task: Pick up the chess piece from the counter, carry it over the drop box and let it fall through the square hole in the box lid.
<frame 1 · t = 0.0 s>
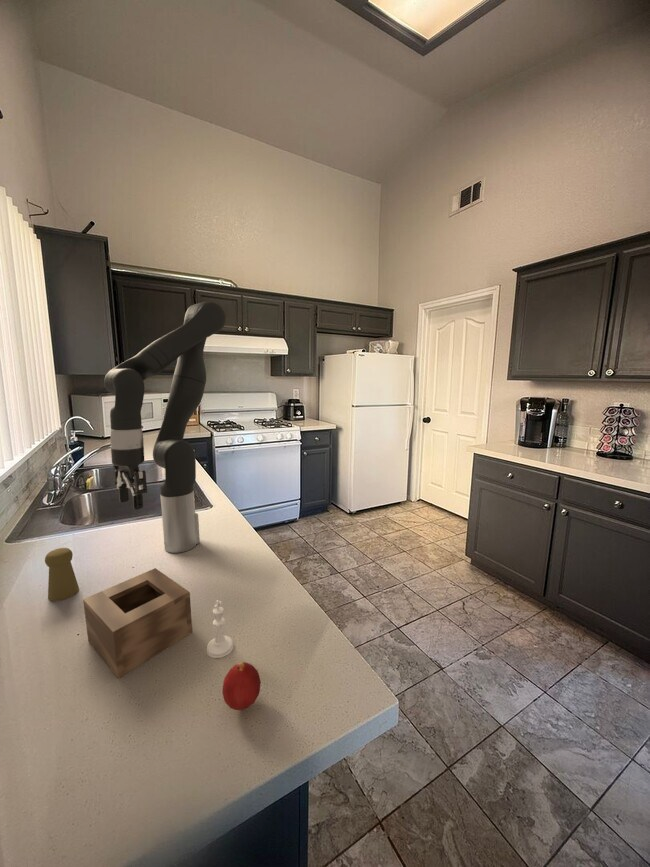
hand: (130, 505, 94), 17 cm above the countertop, tool pointing down, fingers open, 8 cm apart
cork: (63, 594, 84), on the countertop
drop box: (141, 636, 70), on the countertop
chess piece: (220, 648, 67), on the countertop
red oval fruit: (242, 707, 55), on the countertop
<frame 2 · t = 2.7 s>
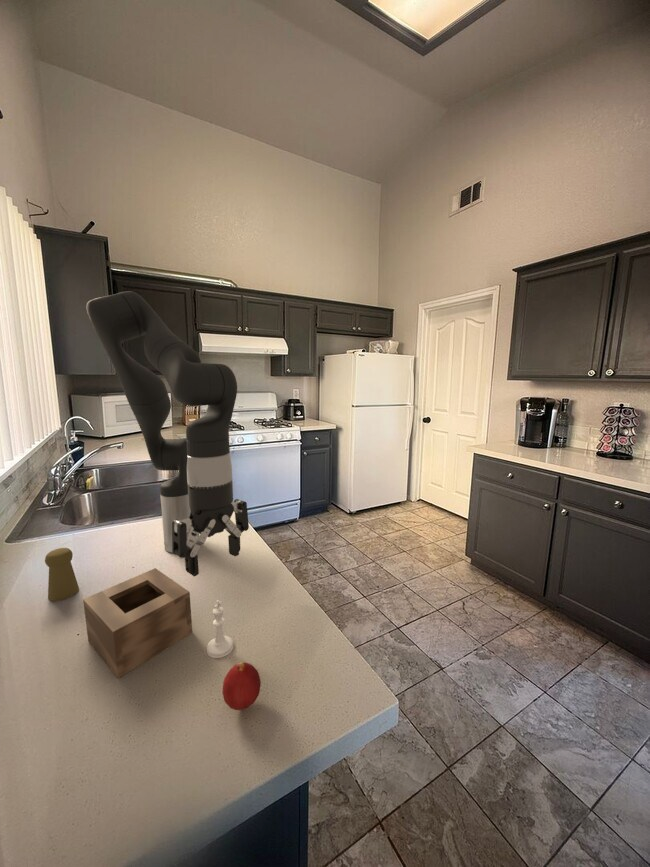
hand: (214, 564, 64), 17 cm above the countertop, tool pointing down, fingers open, 8 cm apart
nothing on the countertop moved.
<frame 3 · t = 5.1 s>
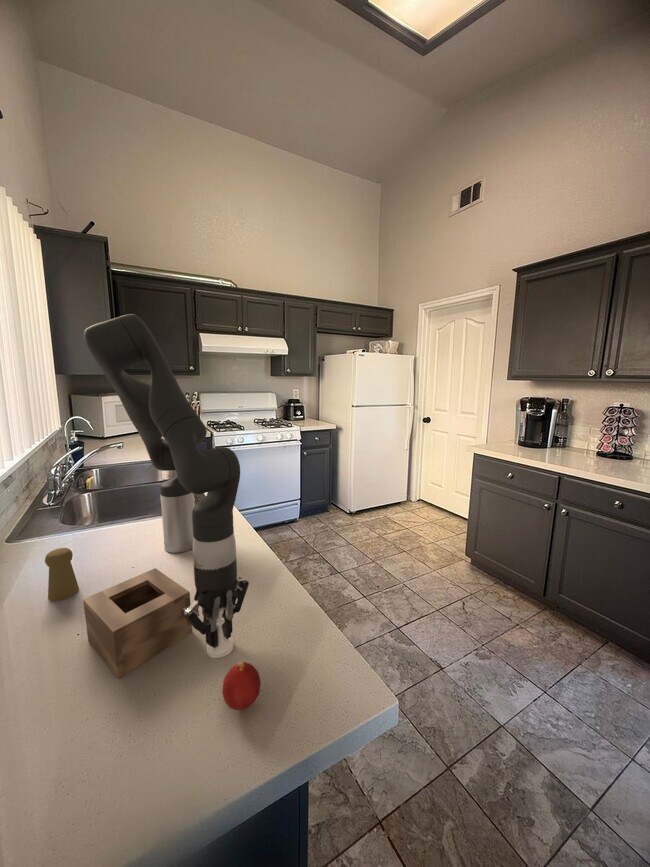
hand: (219, 640, 66), 2 cm above the countertop, tool pointing down, fingers closed on chess piece, 2 cm apart
chess piece: (220, 648, 67), on the countertop, touching gripper
everything else where it was.
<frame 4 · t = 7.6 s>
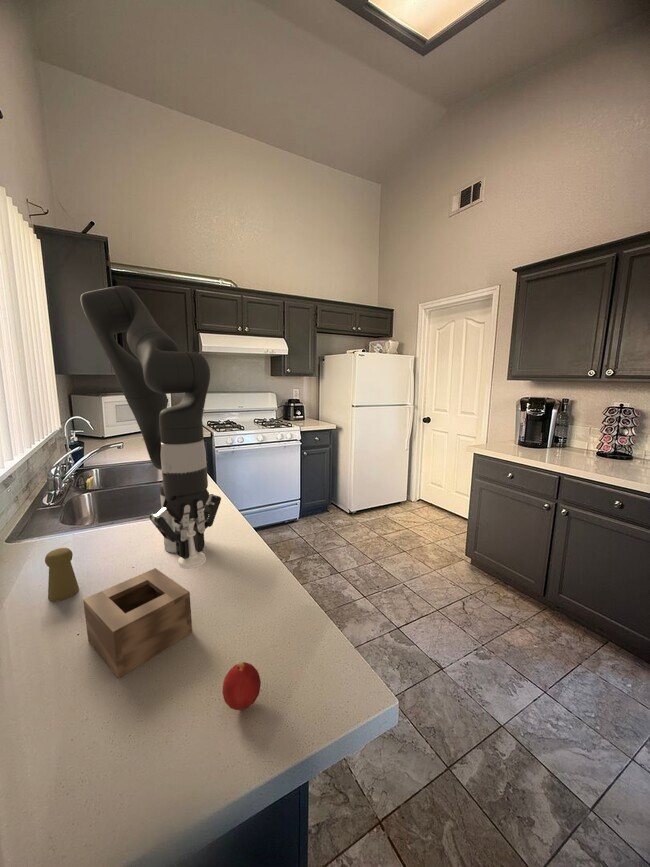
hand: (191, 553, 66), 18 cm above the countertop, tool pointing down, fingers closed on chess piece, 2 cm apart
chess piece: (192, 562, 66), point 17 cm above the countertop, touching gripper
everything else where it was.
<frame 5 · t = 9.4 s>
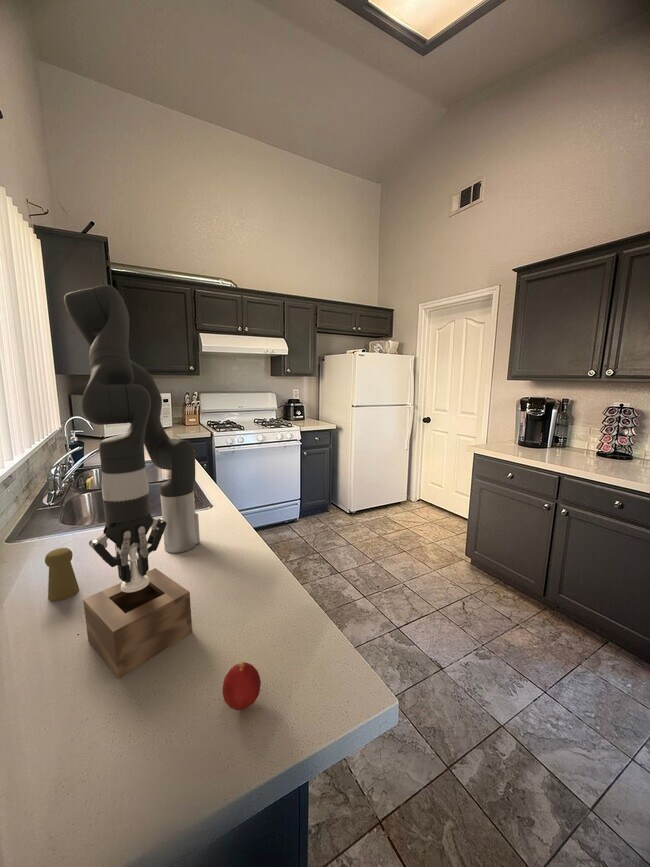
hand: (134, 577, 68), 13 cm above the countertop, tool pointing down, fingers closed on chess piece, 2 cm apart
chess piece: (135, 585, 68), point 11 cm above the countertop, touching gripper
everything else where it was.
when the fingers open (12 cm above the countertop, at t = 10.2 s): chess piece drops 10 cm, resting on drop box.
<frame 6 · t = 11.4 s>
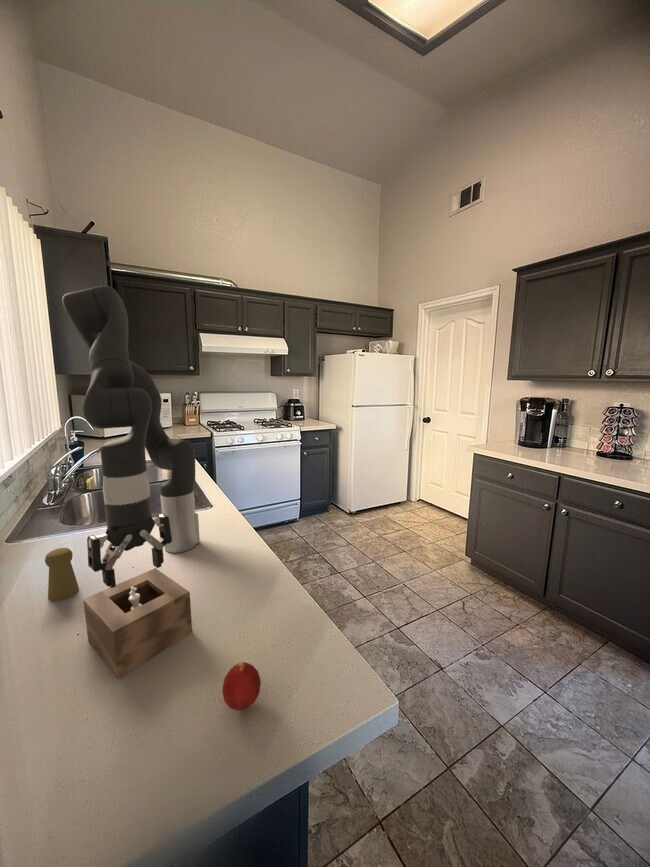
hand: (135, 575, 68), 13 cm above the countertop, tool pointing down, fingers open, 8 cm apart
chess piece: (141, 633, 70), point 1 cm above the countertop, touching drop box
everything else where it was.
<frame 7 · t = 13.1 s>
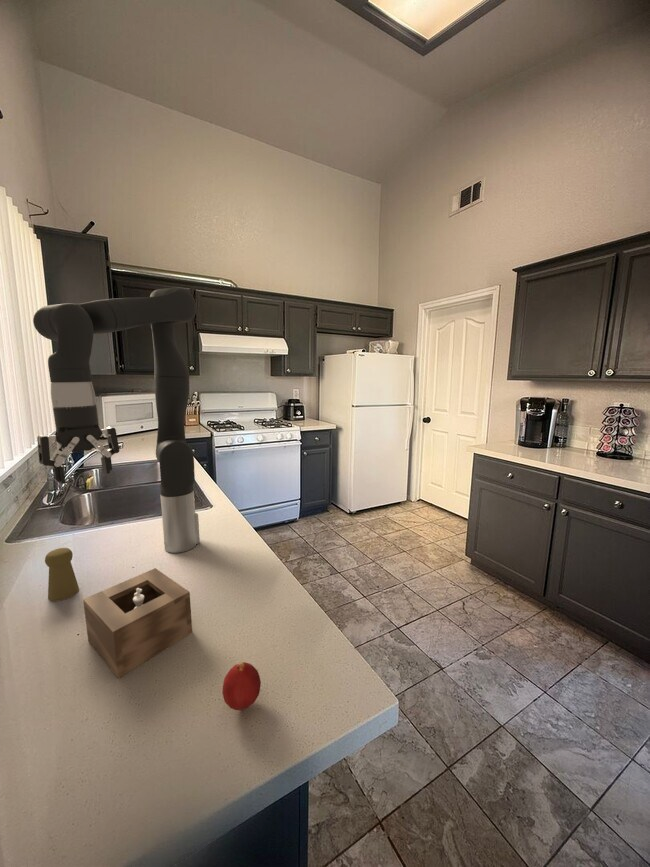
hand: (85, 478, 76), 29 cm above the countertop, tool pointing down, fingers open, 8 cm apart
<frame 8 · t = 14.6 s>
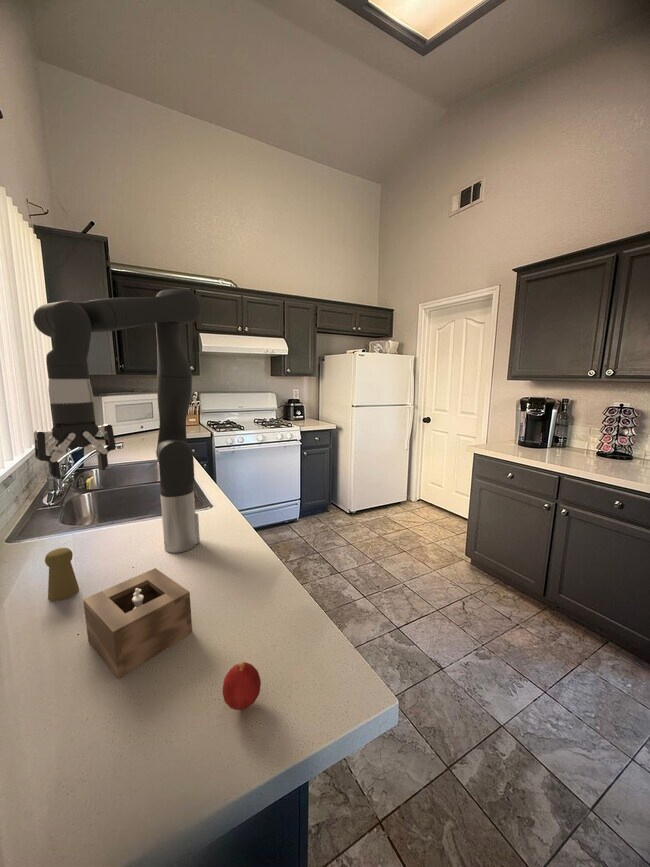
hand: (80, 474, 77), 30 cm above the countertop, tool pointing down, fingers open, 8 cm apart
nothing on the countertop moved.
at the end: chess piece inside the target area on the drop box (0.1 cm from its centre), point 0.4 cm above the drop box's base; the gripper is holding nothing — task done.
